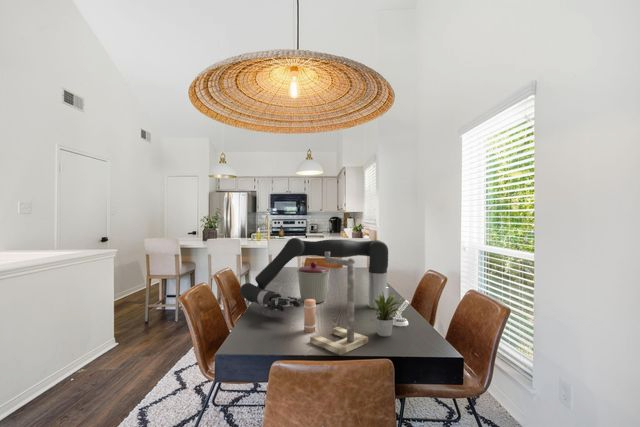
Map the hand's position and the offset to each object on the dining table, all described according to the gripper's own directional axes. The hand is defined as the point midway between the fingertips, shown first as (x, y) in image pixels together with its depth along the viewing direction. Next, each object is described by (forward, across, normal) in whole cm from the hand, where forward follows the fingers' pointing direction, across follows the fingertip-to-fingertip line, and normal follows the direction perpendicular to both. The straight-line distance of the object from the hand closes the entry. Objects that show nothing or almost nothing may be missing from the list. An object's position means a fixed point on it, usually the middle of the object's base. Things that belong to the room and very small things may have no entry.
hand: (291, 306), depth 132 cm
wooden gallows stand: (+27, 0, +7) cm, 28 cm away
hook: (+31, +34, +7) cm, 47 cm away
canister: (-20, +31, +7) cm, 38 cm away
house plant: (+34, +18, +7) cm, 39 cm away
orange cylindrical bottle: (+11, 0, +7) cm, 13 cm away
